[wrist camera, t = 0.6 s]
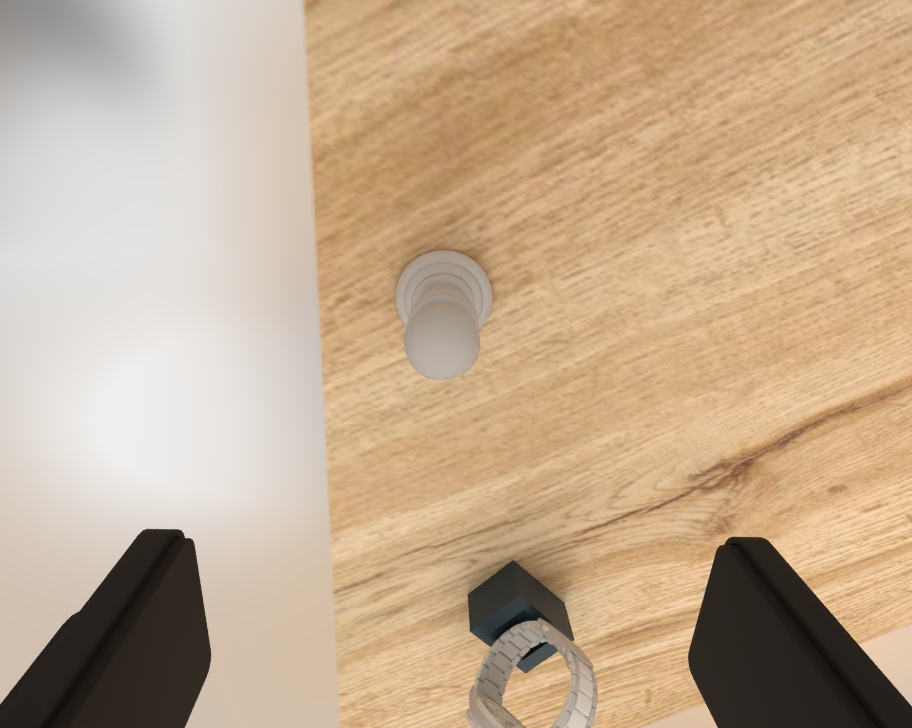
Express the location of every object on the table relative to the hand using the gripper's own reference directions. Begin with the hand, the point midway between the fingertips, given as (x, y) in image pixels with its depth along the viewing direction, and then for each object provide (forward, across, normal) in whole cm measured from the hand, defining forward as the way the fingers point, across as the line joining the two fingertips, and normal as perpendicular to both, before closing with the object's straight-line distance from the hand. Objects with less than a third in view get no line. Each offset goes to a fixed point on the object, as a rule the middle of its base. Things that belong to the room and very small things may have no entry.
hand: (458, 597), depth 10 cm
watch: (+22, -6, +22) cm, 32 cm away
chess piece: (+22, 0, 0) cm, 22 cm away
